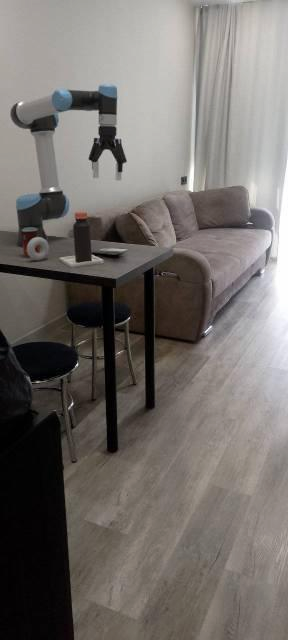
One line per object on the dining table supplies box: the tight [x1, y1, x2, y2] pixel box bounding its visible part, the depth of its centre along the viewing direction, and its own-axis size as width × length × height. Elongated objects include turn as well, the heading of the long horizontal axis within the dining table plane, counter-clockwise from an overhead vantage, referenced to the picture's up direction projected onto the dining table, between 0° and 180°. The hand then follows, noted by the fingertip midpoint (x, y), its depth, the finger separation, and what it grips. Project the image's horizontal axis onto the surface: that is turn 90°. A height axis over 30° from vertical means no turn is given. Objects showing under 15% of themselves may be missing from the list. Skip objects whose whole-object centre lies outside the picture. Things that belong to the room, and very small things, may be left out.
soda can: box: [22, 227, 41, 258], centre depth 220 cm, size 7×7×12 cm
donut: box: [27, 237, 50, 261], centre depth 212 cm, size 10×4×10 cm, turn 128°
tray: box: [59, 254, 104, 269], centre depth 209 cm, size 14×14×2 cm
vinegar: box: [72, 211, 93, 263], centre depth 205 cm, size 7×7×20 cm
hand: (106, 179), depth 215 cm, fingers open, 13 cm apart
